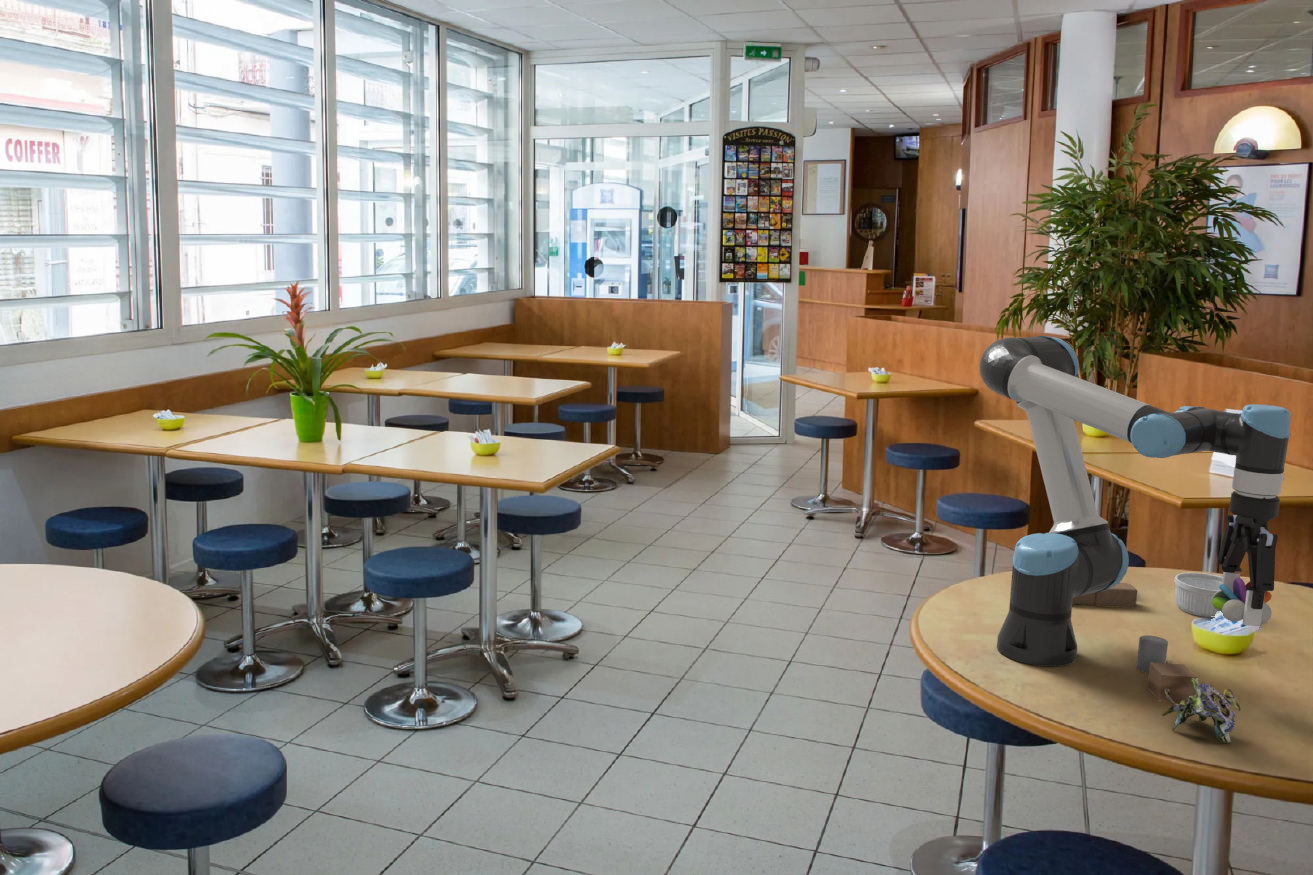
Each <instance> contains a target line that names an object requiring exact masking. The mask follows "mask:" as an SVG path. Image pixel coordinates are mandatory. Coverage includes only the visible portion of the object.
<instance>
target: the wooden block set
mask: <svg viewBox="0 0 1313 875" xmlns="http://www.w3.org/2000/svg"><path fill="white" fill-rule="evenodd" d="M1137 597H1138V589H1137V588H1136V587H1134V585H1132V584H1130V583H1127V582H1119V583H1118V584H1117V585H1115V586H1113V587H1111V588H1108V589H1107V590H1105V591H1102V592H1094V593H1090V594H1085V595H1081V596H1077V597H1073V603H1072V605H1078V606H1080V605H1082V606H1095V607H1108V608H1109V607H1111V608H1112V607H1113V608H1129V609H1130V608H1132V609H1135V608H1137V607H1136V605H1137V599H1138V598H1137Z"/></svg>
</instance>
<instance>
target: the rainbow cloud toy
mask: <svg viewBox="0 0 1313 875" xmlns="http://www.w3.org/2000/svg"><path fill="white" fill-rule="evenodd" d="M1246 587H1250V581H1248V582H1247V583H1246V584H1245V581H1244V579H1243V578H1241V577H1240V578H1236V579H1235V580H1234V582H1233V592H1232V591H1231V590H1230V589H1229V588H1228V587H1227V586H1226V585H1224V584H1221V585H1220V586H1219V588H1220V589H1221V590H1220V591H1217V592H1216V593H1215V594H1214V595H1213V596H1212V605H1213V607H1214V608H1215V609H1216V610H1218V611H1221V612H1222V613H1223V616H1224V618H1225V619H1226V620H1228V621H1230V622H1232V623H1233V622H1240V621H1243V615H1244V608H1245V601H1246V594H1247V589H1246ZM1272 597H1273V596H1272V593H1271V591H1266V592H1265V597H1264V604H1263V611H1262V618H1261V624H1265V623H1267V622H1268V621H1270V619H1271V617H1272V613H1273V611H1272V608H1271V607H1270V605H1269V604H1267V603H1268V602H1269V601H1270V600H1272Z"/></svg>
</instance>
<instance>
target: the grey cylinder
mask: <svg viewBox="0 0 1313 875" xmlns="http://www.w3.org/2000/svg"><path fill="white" fill-rule="evenodd" d="M1168 645H1169V641H1168V640H1167V639H1165V638H1163V637H1159V636H1156V635H1147V634H1146V635H1140V636H1139V639H1138V648H1137V656H1136V670H1138V671H1140V672H1142V673H1144V674H1148V675H1149V667H1150V662H1154V663H1167V654H1168Z"/></svg>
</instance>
